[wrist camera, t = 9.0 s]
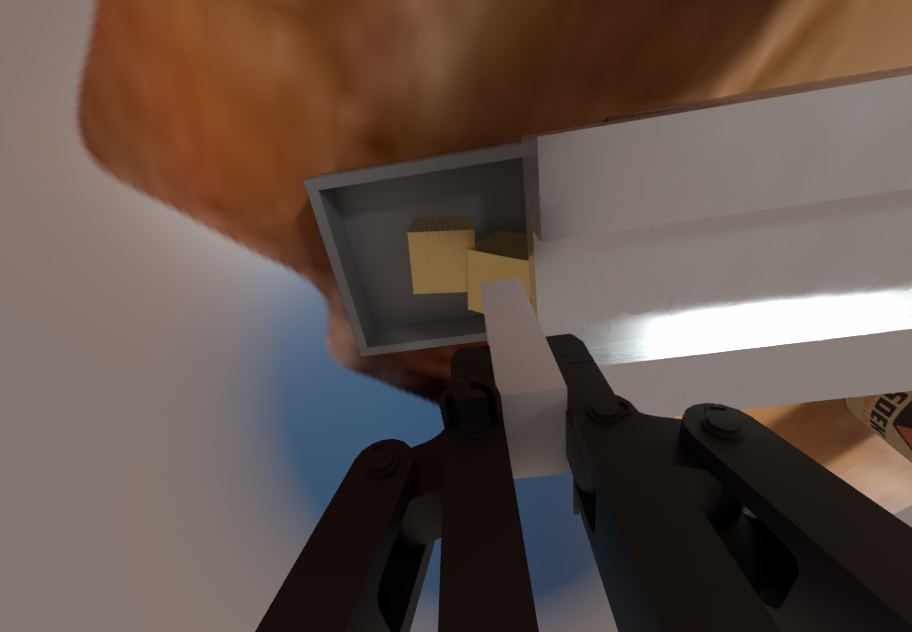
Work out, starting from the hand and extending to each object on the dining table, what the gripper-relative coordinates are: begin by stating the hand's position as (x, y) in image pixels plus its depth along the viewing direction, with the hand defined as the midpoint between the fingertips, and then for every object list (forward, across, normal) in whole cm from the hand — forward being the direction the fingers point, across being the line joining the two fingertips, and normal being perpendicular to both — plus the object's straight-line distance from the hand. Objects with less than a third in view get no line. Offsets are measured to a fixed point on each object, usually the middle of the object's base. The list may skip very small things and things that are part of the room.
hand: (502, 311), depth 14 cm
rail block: (+10, +12, 0) cm, 15 cm away
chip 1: (+8, -1, 0) cm, 8 cm away
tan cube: (+7, +2, -1) cm, 8 cm away
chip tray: (+10, -3, 0) cm, 10 cm away
